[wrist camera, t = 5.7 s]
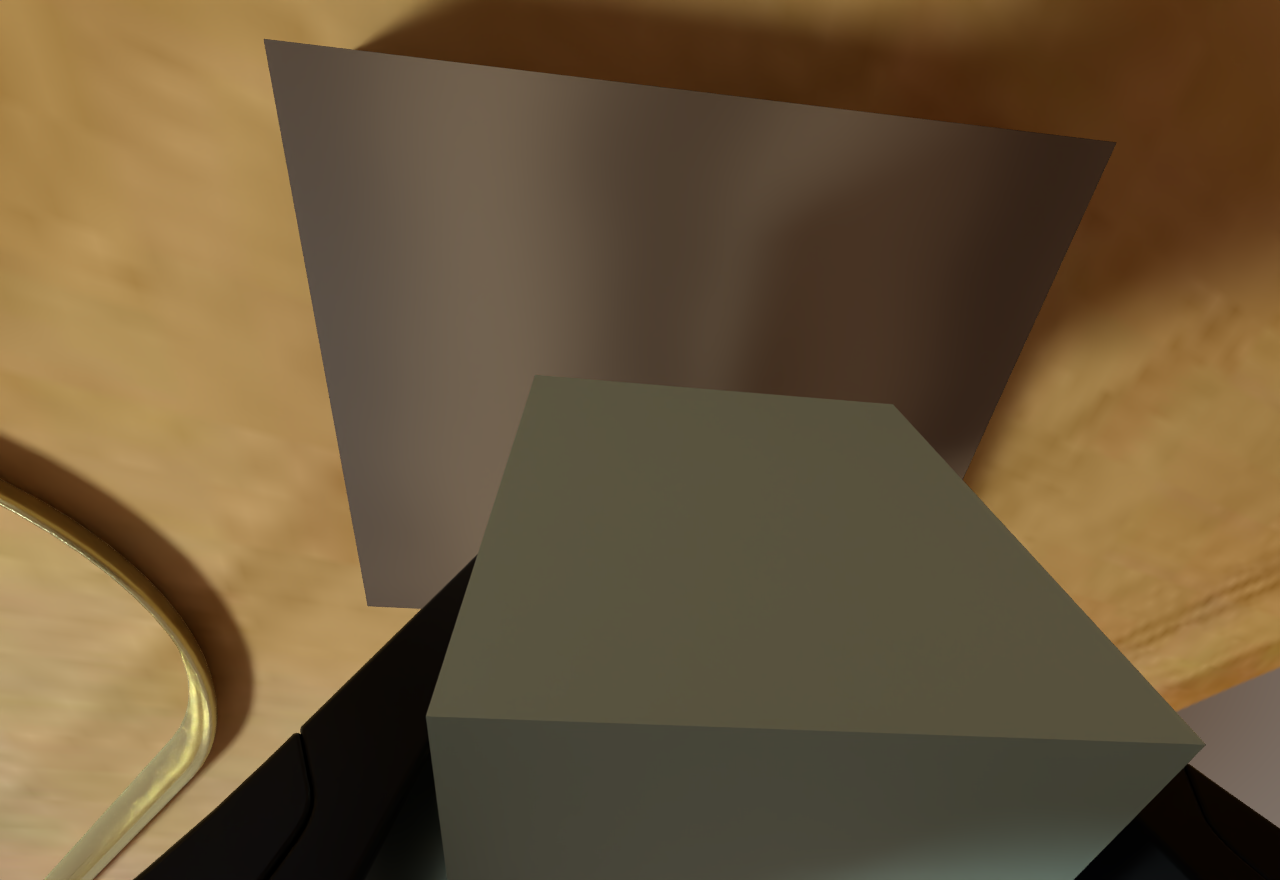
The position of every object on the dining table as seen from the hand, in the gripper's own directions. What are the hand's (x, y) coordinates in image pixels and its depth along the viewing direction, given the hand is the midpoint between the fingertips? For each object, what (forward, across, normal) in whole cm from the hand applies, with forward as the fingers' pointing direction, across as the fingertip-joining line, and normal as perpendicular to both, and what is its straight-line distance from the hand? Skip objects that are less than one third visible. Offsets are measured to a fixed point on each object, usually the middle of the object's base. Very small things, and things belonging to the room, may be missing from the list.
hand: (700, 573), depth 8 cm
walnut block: (+8, 0, 0) cm, 8 cm away
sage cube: (+1, 0, 0) cm, 1 cm away
